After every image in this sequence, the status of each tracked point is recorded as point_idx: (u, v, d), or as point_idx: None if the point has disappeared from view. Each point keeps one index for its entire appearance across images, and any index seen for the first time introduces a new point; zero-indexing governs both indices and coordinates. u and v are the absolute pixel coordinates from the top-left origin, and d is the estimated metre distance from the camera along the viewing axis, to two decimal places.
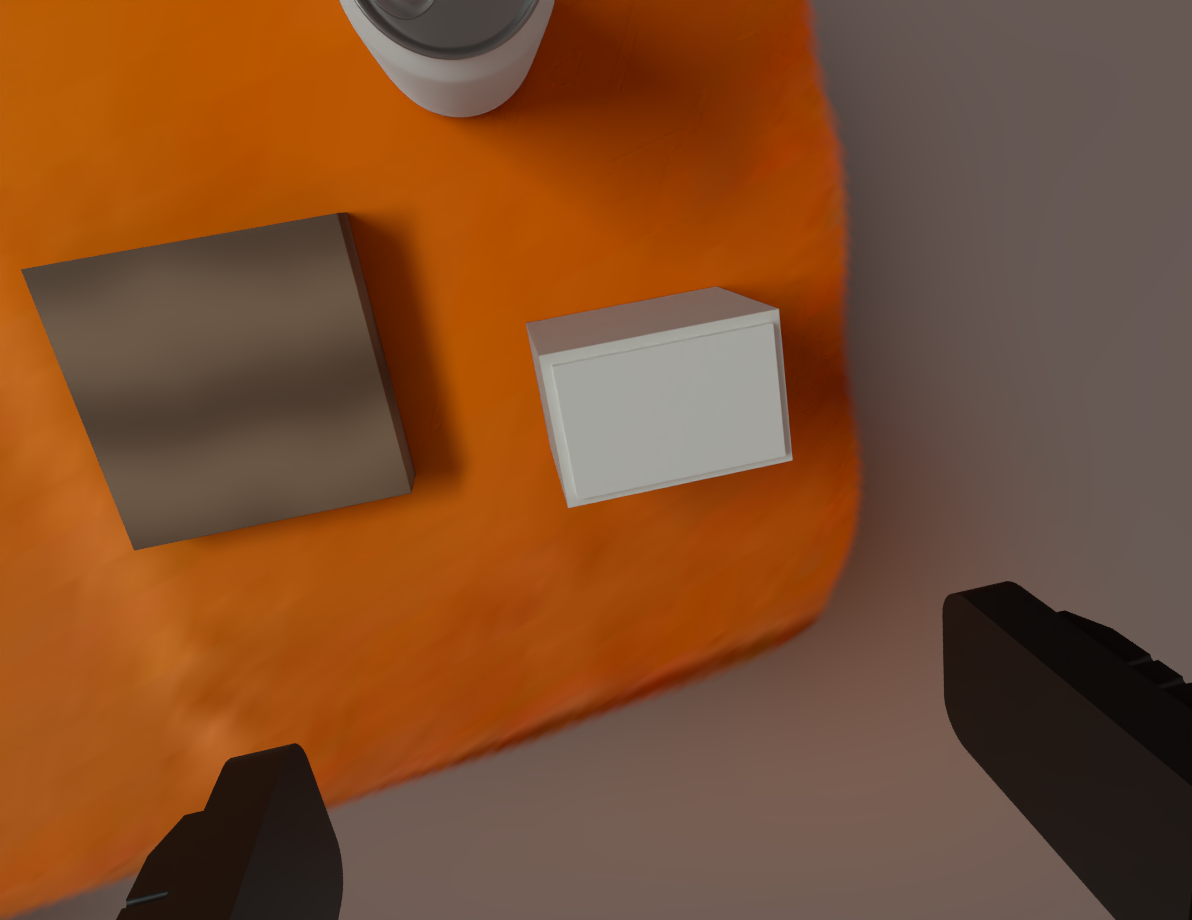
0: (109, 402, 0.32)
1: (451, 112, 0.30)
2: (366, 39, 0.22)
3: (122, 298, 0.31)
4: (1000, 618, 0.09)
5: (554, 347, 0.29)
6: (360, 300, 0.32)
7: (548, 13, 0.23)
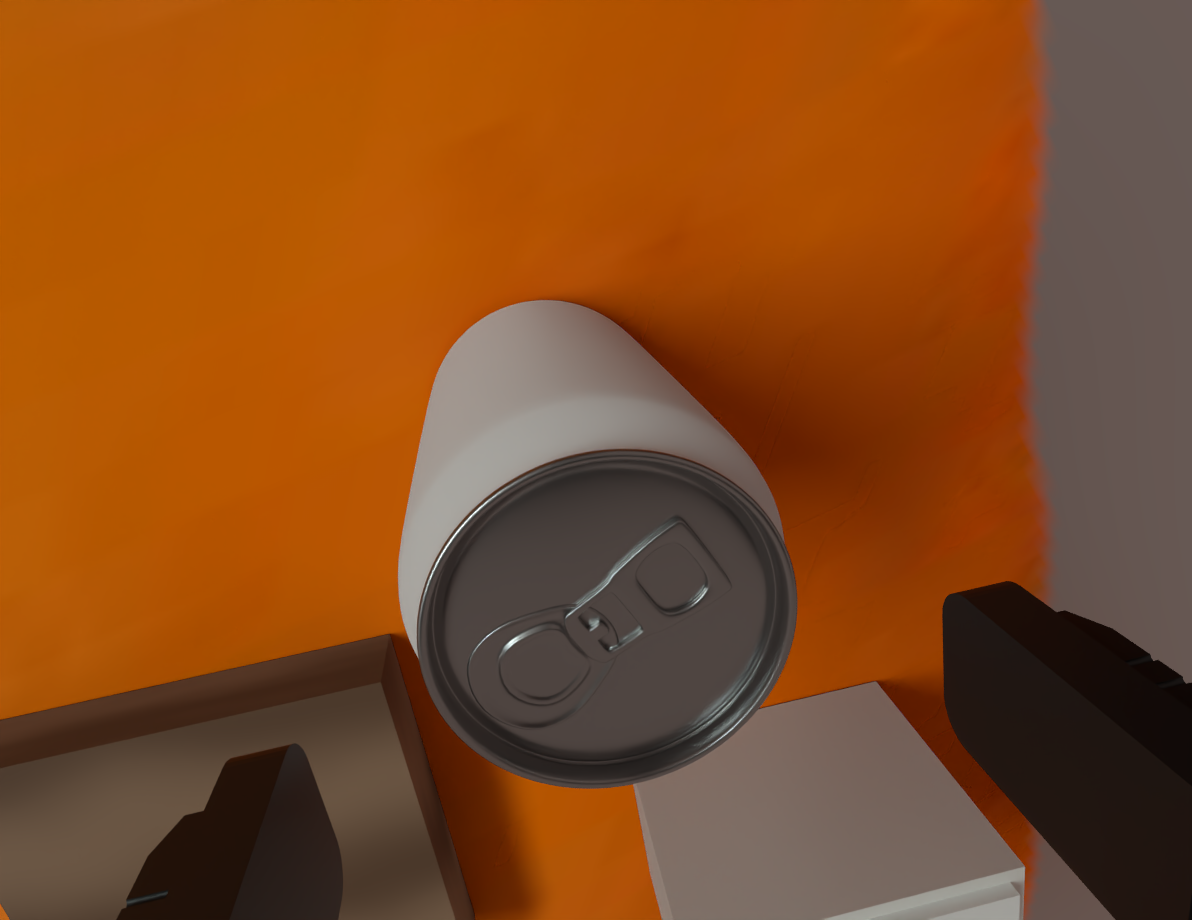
0: None
1: None
2: None
3: (77, 804, 0.22)
4: (1000, 618, 0.09)
5: (698, 912, 0.20)
6: (411, 775, 0.23)
7: None
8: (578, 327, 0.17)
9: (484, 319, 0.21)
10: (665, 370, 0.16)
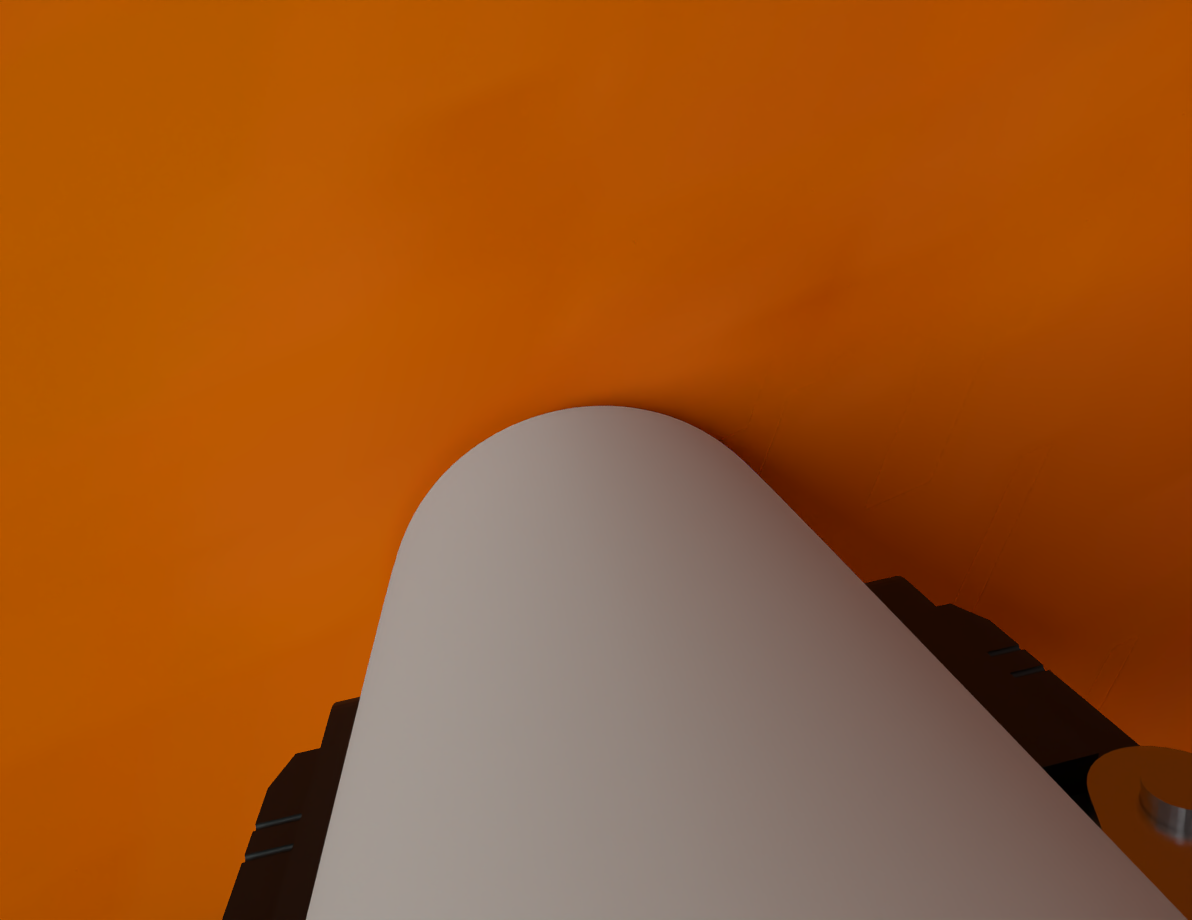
0: None
1: None
2: None
3: None
4: None
5: None
6: None
7: None
8: (699, 521, 0.08)
9: (488, 446, 0.11)
10: (923, 649, 0.07)
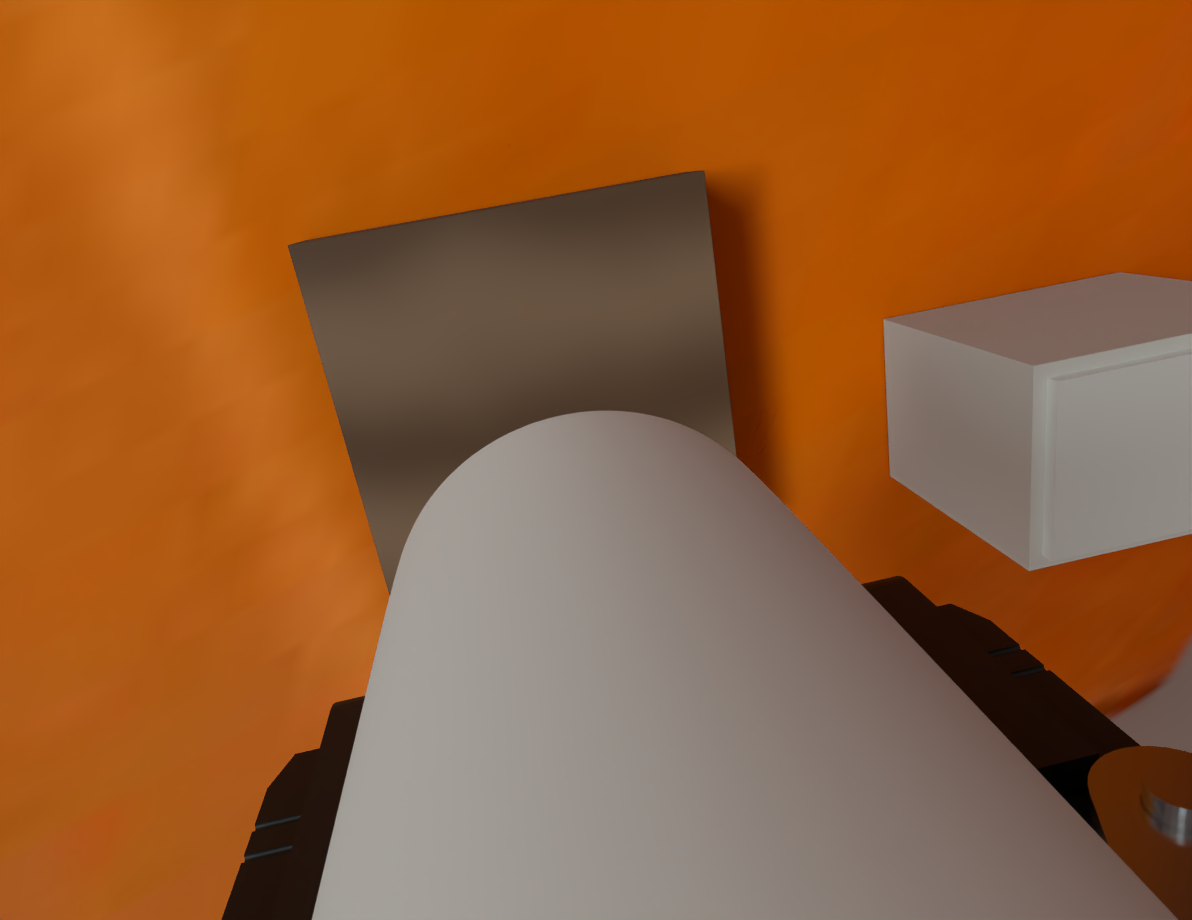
0: (385, 424, 0.24)
1: None
2: None
3: (415, 285, 0.23)
4: None
5: (1031, 353, 0.21)
6: (715, 288, 0.24)
7: None
8: (701, 529, 0.08)
9: (491, 451, 0.11)
10: (926, 658, 0.07)
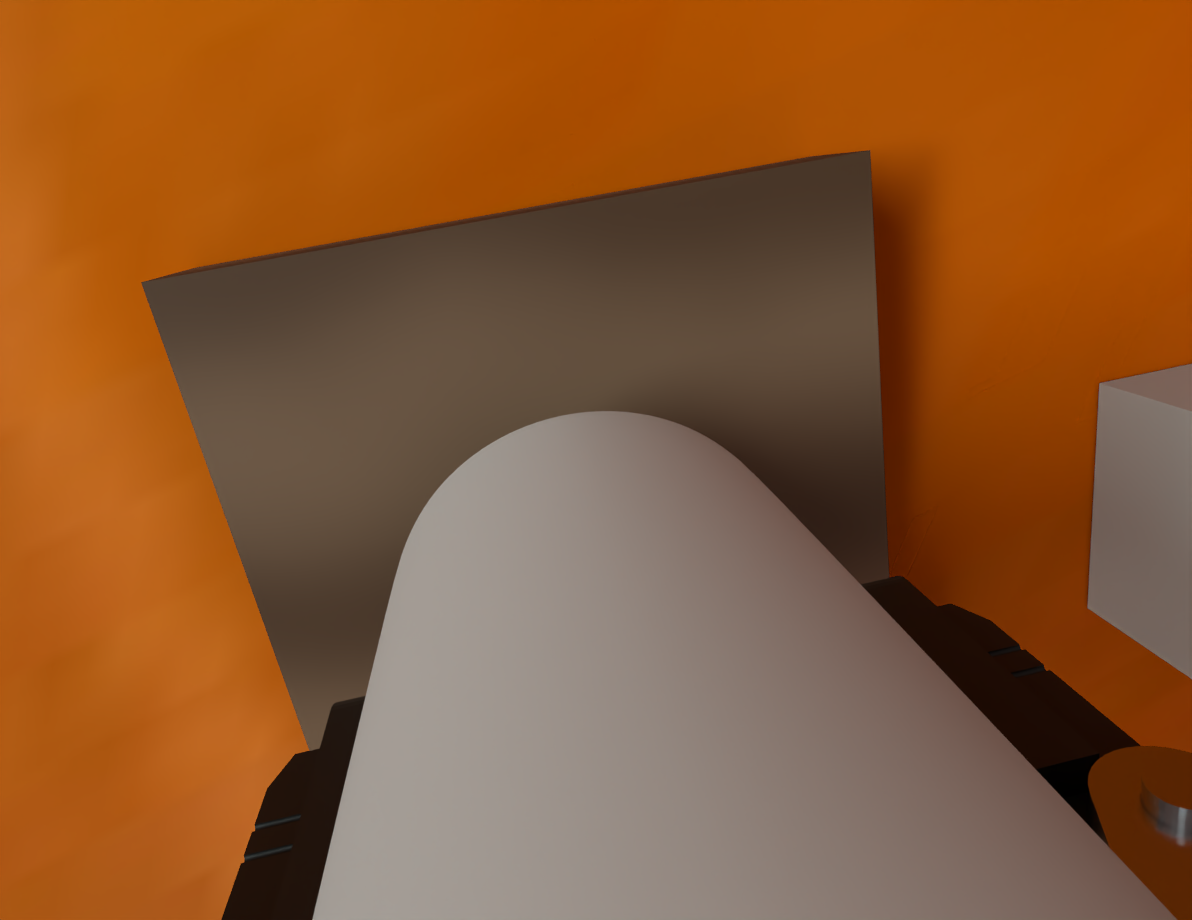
0: (324, 576, 0.14)
1: None
2: None
3: (371, 348, 0.13)
4: None
5: None
6: None
7: None
8: (701, 530, 0.08)
9: (491, 451, 0.11)
10: (925, 658, 0.07)
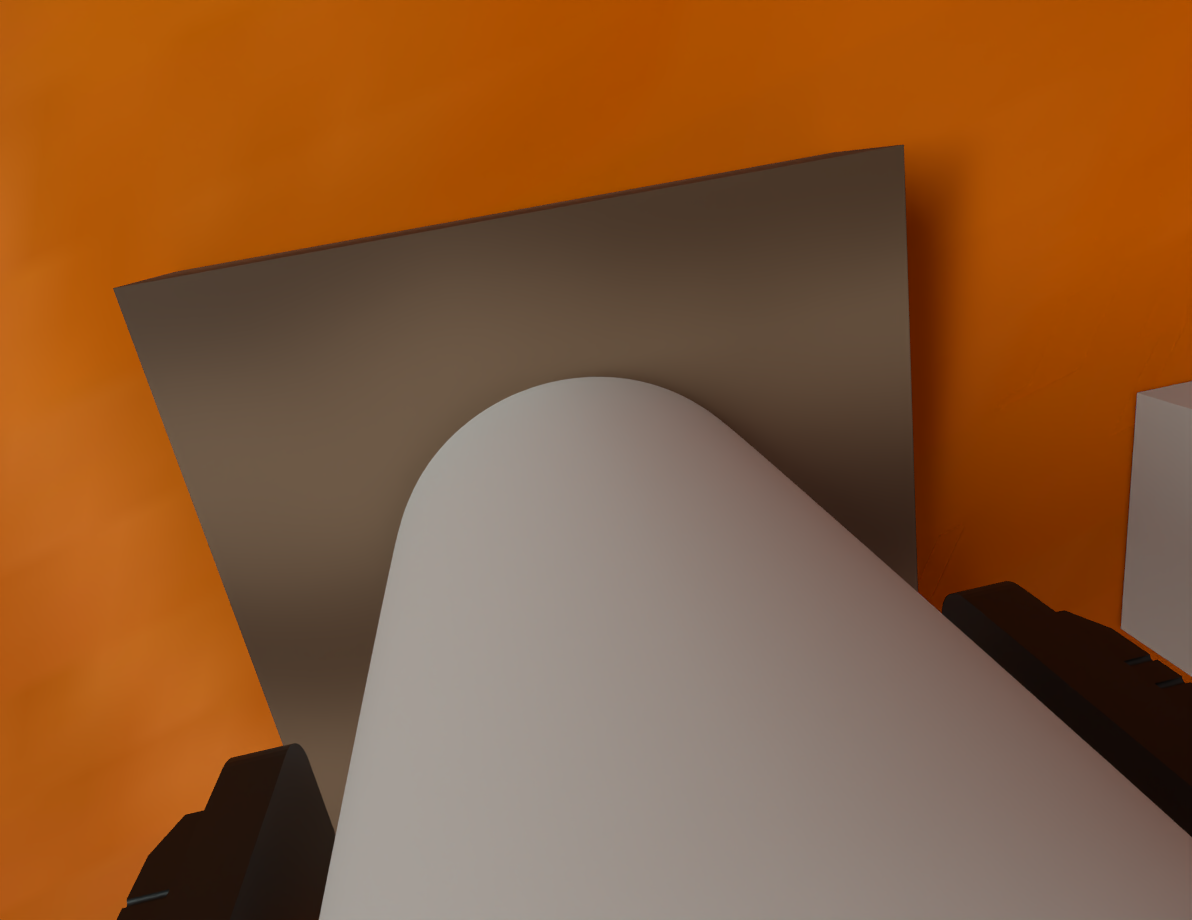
0: (314, 604, 0.13)
1: None
2: None
3: (364, 359, 0.12)
4: (1000, 618, 0.09)
5: None
6: None
7: None
8: (703, 469, 0.08)
9: (496, 410, 0.12)
10: (906, 583, 0.07)
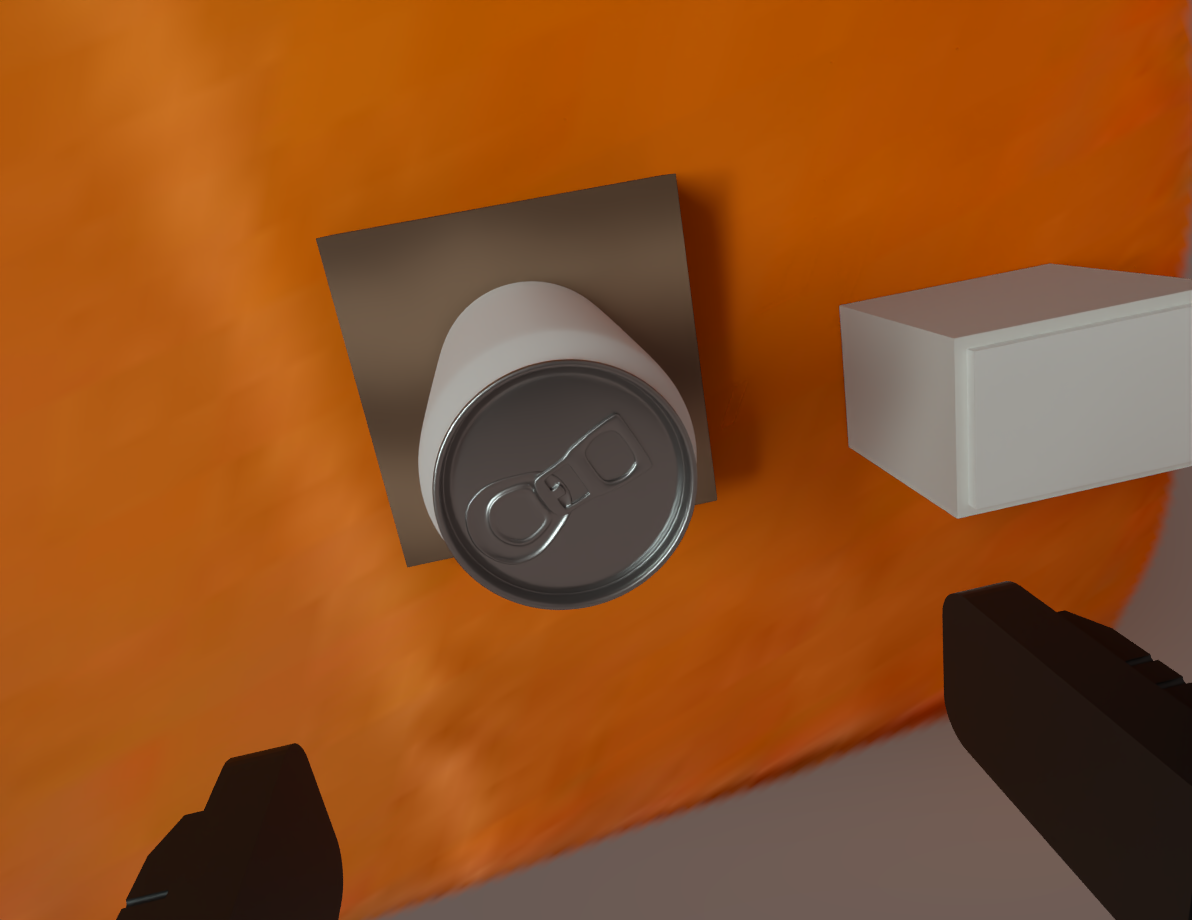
0: (398, 395, 0.27)
1: None
2: None
3: (425, 273, 0.26)
4: (1000, 618, 0.09)
5: (955, 329, 0.25)
6: None
7: None
8: (558, 296, 0.22)
9: (486, 294, 0.26)
10: None
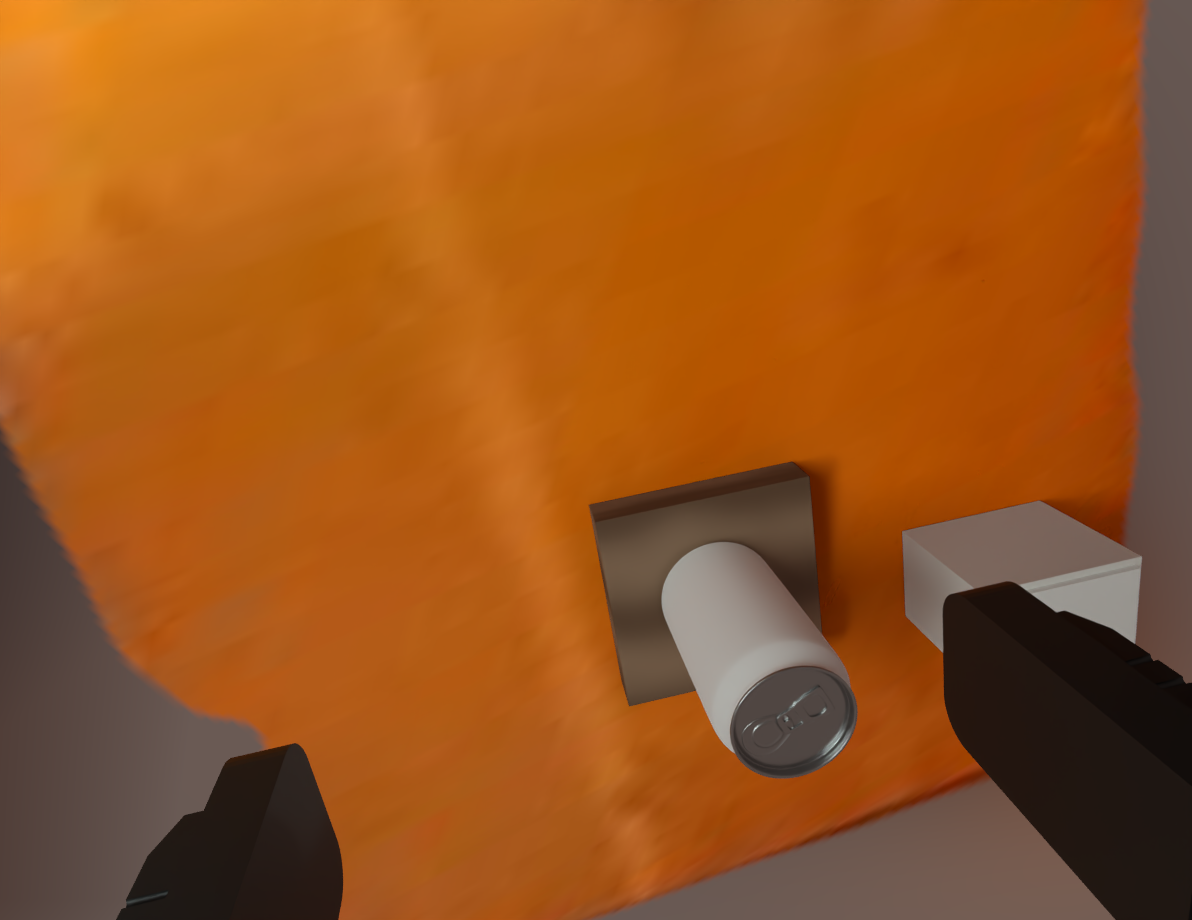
0: (634, 606, 0.44)
1: None
2: (726, 746, 0.35)
3: (657, 538, 0.43)
4: (1000, 618, 0.09)
5: (981, 581, 0.42)
6: None
7: None
8: (756, 578, 0.39)
9: (696, 552, 0.43)
10: (796, 603, 0.38)
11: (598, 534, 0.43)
